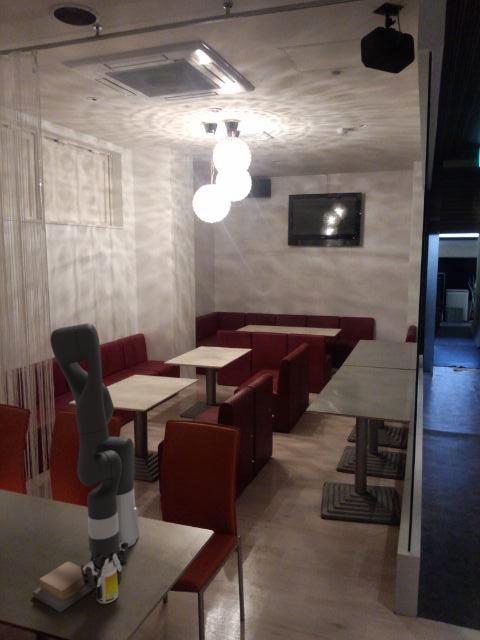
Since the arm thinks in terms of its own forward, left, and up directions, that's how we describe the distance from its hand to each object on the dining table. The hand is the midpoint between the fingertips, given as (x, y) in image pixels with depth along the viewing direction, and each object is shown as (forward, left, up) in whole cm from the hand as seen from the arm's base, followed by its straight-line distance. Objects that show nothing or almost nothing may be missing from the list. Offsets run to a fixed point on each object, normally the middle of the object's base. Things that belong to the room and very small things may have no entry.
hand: (107, 590), depth 131 cm
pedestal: (+4, -11, -2) cm, 12 cm away
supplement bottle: (0, 0, -2) cm, 2 cm away
